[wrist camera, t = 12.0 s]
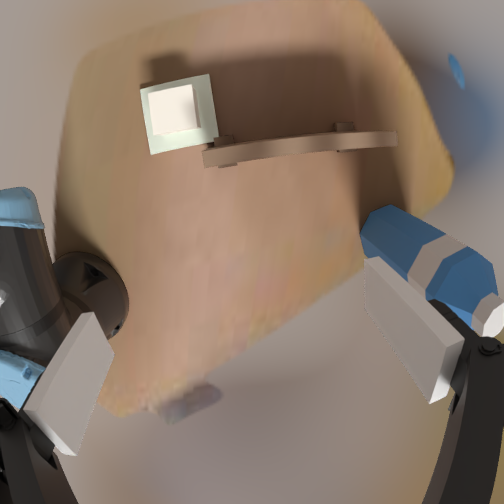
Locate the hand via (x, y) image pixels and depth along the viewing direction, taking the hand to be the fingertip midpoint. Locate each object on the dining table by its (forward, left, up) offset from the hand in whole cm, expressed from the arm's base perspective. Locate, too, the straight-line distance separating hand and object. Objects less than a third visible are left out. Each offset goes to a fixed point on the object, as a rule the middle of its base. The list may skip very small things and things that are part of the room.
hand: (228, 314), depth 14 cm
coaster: (-4, +12, -28) cm, 31 cm away
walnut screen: (+9, +6, -28) cm, 30 cm away
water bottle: (+23, -9, -28) cm, 37 cm away
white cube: (-4, +12, -27) cm, 30 cm away
